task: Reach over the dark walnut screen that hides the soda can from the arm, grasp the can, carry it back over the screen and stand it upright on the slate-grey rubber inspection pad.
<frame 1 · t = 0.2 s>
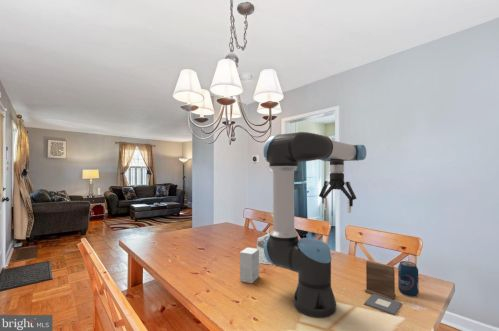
hand: (337, 211, 135), 28 cm above the table, fingers open, 13 cm apart
soda can: (408, 293, 100), on the table
small box: (249, 279, 113), on the table
inspection pad: (383, 304, 91), on the table
walnut screen: (380, 294, 99), on the table
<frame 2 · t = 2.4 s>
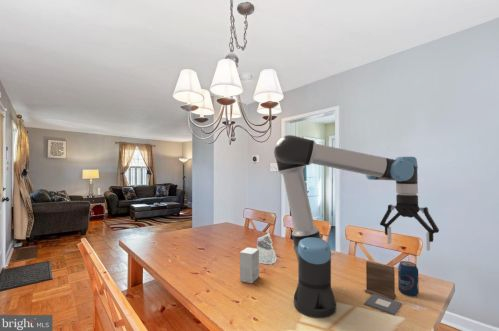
hand: (408, 246, 100), 19 cm above the table, fingers open, 13 cm apart
nothing on the table moved.
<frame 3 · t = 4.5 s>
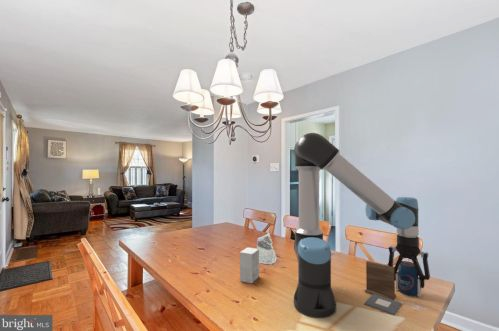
hand: (408, 291, 100), 1 cm above the table, fingers closed on soda can, 7 cm apart
soda can: (408, 293, 100), on the table, touching gripper
everything else where it was.
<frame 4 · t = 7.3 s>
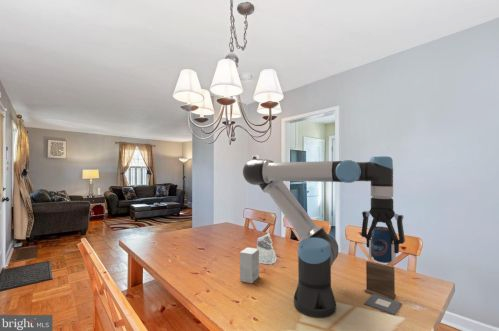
hand: (382, 258, 92), 17 cm above the table, fingers closed on soda can, 7 cm apart
soda can: (382, 260, 92), point 16 cm above the table, touching gripper
everything else where it was.
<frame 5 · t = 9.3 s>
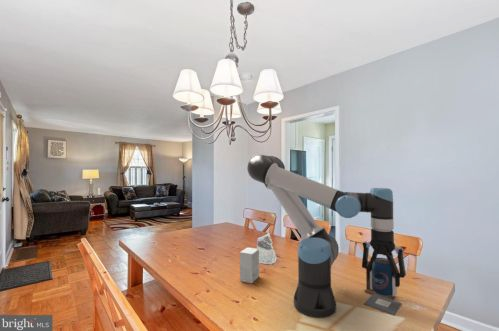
hand: (383, 291, 91), 5 cm above the table, fingers closed on soda can, 7 cm apart
soda can: (383, 293, 91), point 4 cm above the table, touching gripper
everything else where it was.
when the fingers open (3 cm above the table, at t = 10.3 s): soda can drops 1 cm, resting on inspection pad.
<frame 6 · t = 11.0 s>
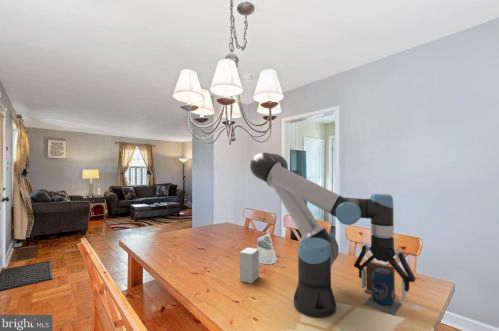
hand: (382, 293, 91), 4 cm above the table, fingers open, 13 cm apart
soda can: (382, 303, 91), resting on inspection pad
everything else where it was.
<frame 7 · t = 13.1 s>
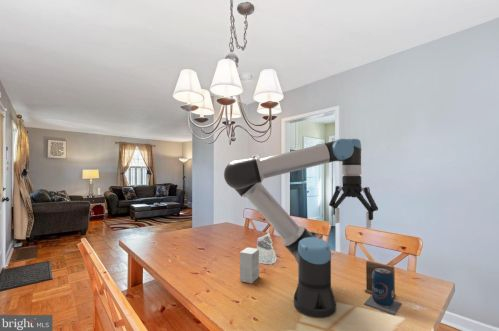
hand: (352, 225, 104), 27 cm above the table, fingers open, 13 cm apart
nothing on the table moved.
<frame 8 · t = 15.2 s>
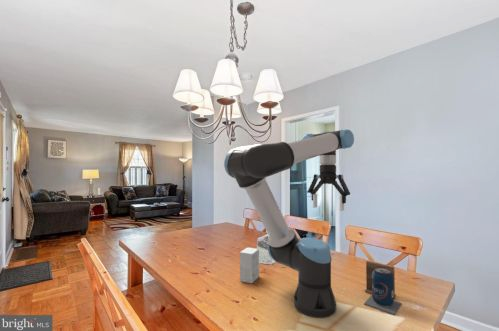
hand: (328, 208, 117), 32 cm above the table, fingers open, 13 cm apart
nothing on the table moved.
at the end: soda can inside the target area on the inspection pad (0.1 cm from its centre), point 0.5 cm above the inspection pad's base; soda can tilted 0°; the gripper is holding nothing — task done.
